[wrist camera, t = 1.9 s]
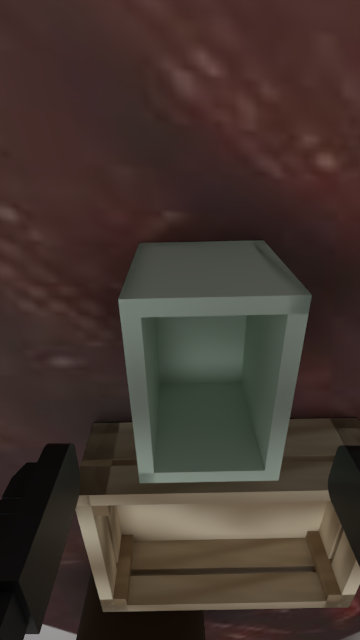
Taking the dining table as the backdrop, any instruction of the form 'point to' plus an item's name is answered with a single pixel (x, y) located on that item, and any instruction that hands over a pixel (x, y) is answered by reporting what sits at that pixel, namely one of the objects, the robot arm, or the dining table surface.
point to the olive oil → (137, 622)
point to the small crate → (211, 359)
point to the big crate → (217, 529)
